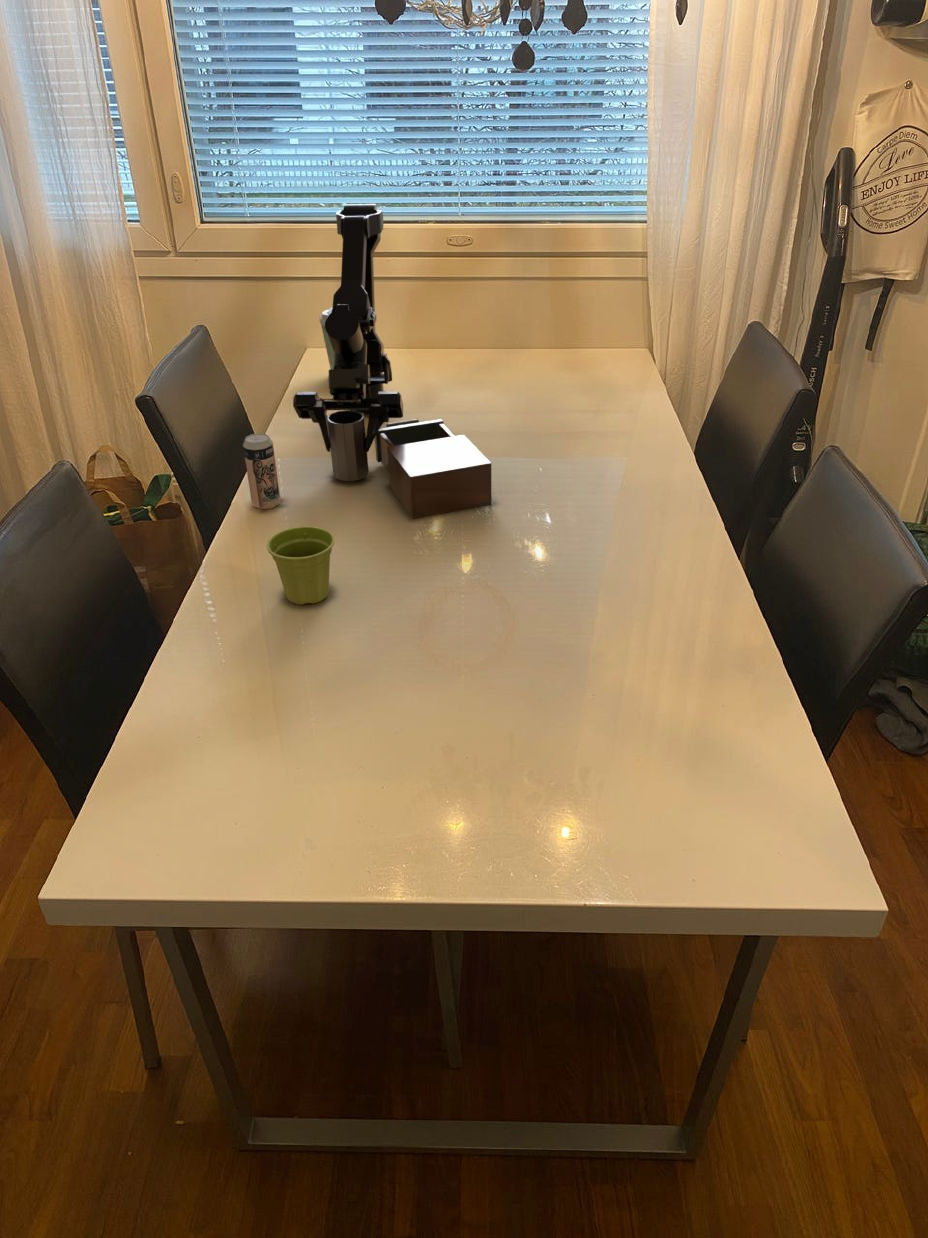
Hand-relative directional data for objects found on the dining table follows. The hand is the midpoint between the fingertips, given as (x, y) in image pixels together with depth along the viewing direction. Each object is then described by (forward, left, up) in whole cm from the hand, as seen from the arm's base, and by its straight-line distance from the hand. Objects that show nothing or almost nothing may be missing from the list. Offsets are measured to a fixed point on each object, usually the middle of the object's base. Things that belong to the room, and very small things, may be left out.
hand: (347, 450), depth 167 cm
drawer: (-10, +8, -5) cm, 14 cm away
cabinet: (0, +17, -6) cm, 18 cm away
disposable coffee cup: (-46, -27, -6) cm, 54 cm away
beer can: (+14, -8, -6) cm, 17 cm away
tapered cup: (-1, -1, -5) cm, 5 cm away
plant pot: (+36, +14, -6) cm, 39 cm away
